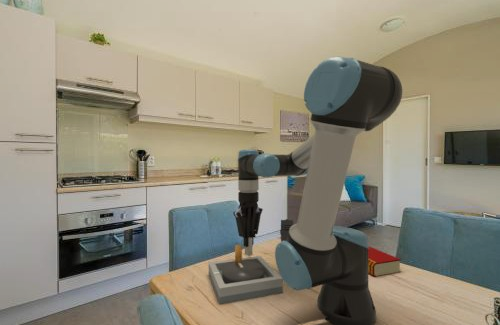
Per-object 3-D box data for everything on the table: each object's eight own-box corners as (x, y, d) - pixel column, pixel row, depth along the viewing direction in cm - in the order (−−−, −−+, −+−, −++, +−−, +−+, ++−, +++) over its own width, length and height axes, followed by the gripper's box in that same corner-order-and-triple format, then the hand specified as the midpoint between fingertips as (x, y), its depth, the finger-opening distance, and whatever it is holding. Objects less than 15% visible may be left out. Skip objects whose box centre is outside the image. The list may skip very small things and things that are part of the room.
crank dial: (270, 282, 81) (270, 255, 81) (227, 289, 76) (227, 261, 76) (255, 265, 94) (255, 242, 94) (218, 270, 90) (218, 246, 90)
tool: (292, 240, 122) (293, 216, 115) (295, 274, 105) (296, 247, 98) (279, 240, 123) (280, 215, 116) (280, 273, 106) (281, 247, 99)
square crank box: (282, 292, 79) (282, 277, 79) (219, 304, 72) (219, 287, 72) (260, 267, 98) (260, 255, 98) (208, 274, 91) (208, 261, 91)
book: (340, 259, 107) (340, 247, 107) (364, 255, 111) (364, 244, 111) (373, 277, 90) (373, 263, 90) (400, 272, 94) (400, 259, 94)
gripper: (254, 189, 101) (254, 248, 101) (228, 191, 92) (228, 256, 92) (267, 190, 95) (267, 253, 95) (241, 193, 87) (241, 262, 87)
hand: (248, 254), depth 94 cm, fingers closed
